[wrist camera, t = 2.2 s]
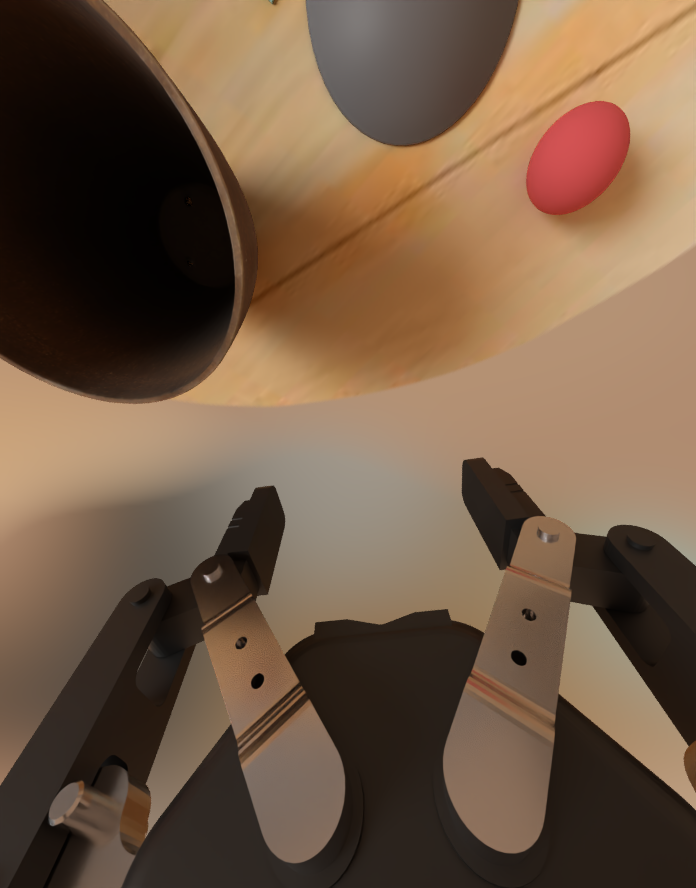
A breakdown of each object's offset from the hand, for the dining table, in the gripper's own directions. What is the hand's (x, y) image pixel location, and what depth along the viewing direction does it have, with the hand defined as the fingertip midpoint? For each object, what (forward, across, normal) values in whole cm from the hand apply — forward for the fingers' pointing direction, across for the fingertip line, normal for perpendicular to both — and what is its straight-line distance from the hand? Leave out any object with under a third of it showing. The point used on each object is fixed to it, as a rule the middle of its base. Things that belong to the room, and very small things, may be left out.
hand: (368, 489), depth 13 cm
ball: (+17, -17, -12) cm, 27 cm away
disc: (+19, -7, -22) cm, 30 cm away
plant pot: (+20, +11, -13) cm, 26 cm away
